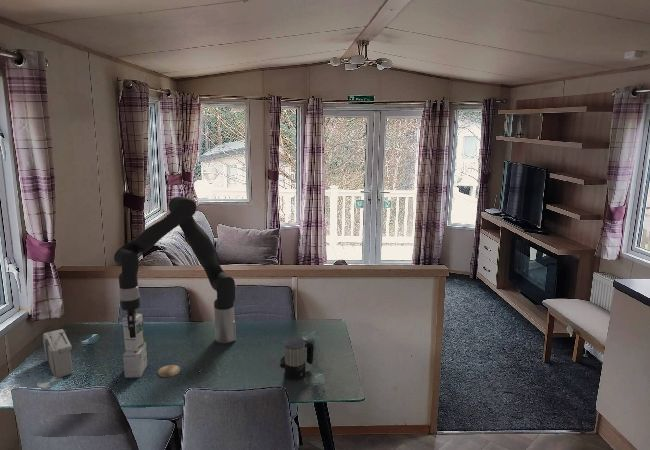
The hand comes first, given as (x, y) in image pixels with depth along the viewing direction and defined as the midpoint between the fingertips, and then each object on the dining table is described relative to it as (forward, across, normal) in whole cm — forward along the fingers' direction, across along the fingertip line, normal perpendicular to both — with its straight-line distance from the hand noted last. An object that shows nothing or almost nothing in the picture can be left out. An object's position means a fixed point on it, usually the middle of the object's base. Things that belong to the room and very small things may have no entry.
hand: (133, 333), depth 202 cm
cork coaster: (+18, -5, -13) cm, 22 cm away
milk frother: (+18, -21, -63) cm, 68 cm away
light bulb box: (+18, 0, 0) cm, 18 cm away
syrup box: (+7, 0, 0) cm, 7 cm away
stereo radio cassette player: (+18, +14, +31) cm, 38 cm away
